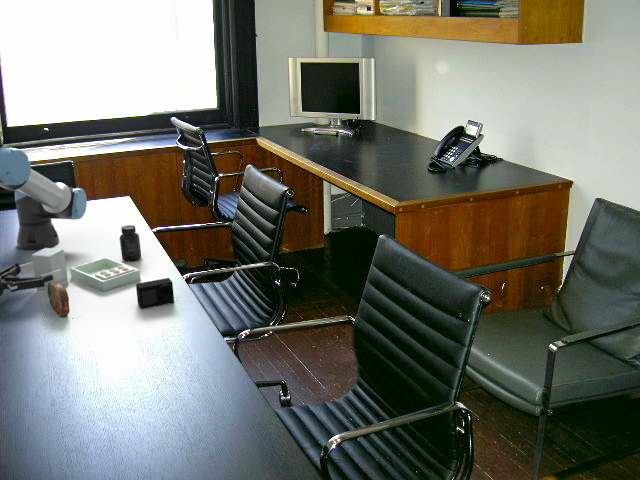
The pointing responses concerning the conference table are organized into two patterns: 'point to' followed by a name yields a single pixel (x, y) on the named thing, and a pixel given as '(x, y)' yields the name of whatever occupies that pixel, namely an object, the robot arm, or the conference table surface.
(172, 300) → the digital camera
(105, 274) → the egg carton
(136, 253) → the supplement bottle
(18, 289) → the robot arm
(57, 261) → the supplement box
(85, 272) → the pale green tray
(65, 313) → the tin
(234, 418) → the conference table surface
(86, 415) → the conference table surface
